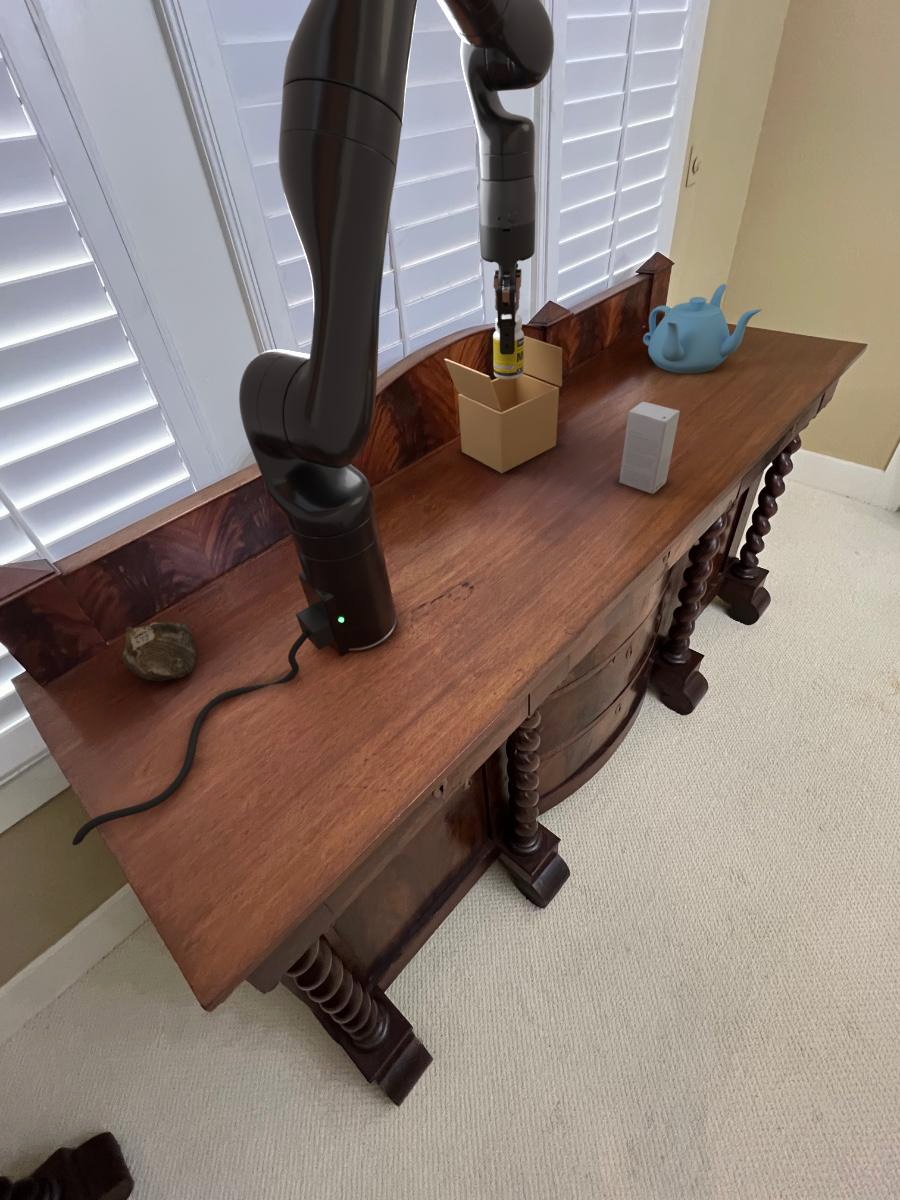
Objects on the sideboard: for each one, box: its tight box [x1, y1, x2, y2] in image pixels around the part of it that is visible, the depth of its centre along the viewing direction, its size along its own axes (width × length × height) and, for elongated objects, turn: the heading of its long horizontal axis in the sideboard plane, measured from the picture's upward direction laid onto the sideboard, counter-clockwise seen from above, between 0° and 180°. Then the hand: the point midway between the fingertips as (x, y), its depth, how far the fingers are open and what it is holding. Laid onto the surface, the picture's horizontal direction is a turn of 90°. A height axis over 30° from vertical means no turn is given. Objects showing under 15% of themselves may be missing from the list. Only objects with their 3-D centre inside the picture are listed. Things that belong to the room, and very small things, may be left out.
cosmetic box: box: [618, 401, 681, 495], centre depth 87 cm, size 6×4×12 cm
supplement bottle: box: [492, 314, 525, 379], centre depth 90 cm, size 5×5×8 cm
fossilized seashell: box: [121, 621, 197, 682], centre depth 69 cm, size 8×7×10 cm
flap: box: [444, 358, 501, 411], centre depth 90 cm, size 6×10×1 cm
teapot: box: [642, 283, 763, 375], centre depth 119 cm, size 17×19×12 cm
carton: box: [457, 335, 563, 474], centre depth 97 cm, size 14×10×17 cm
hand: (507, 346), depth 90 cm, fingers closed on supplement bottle, 4 cm apart
